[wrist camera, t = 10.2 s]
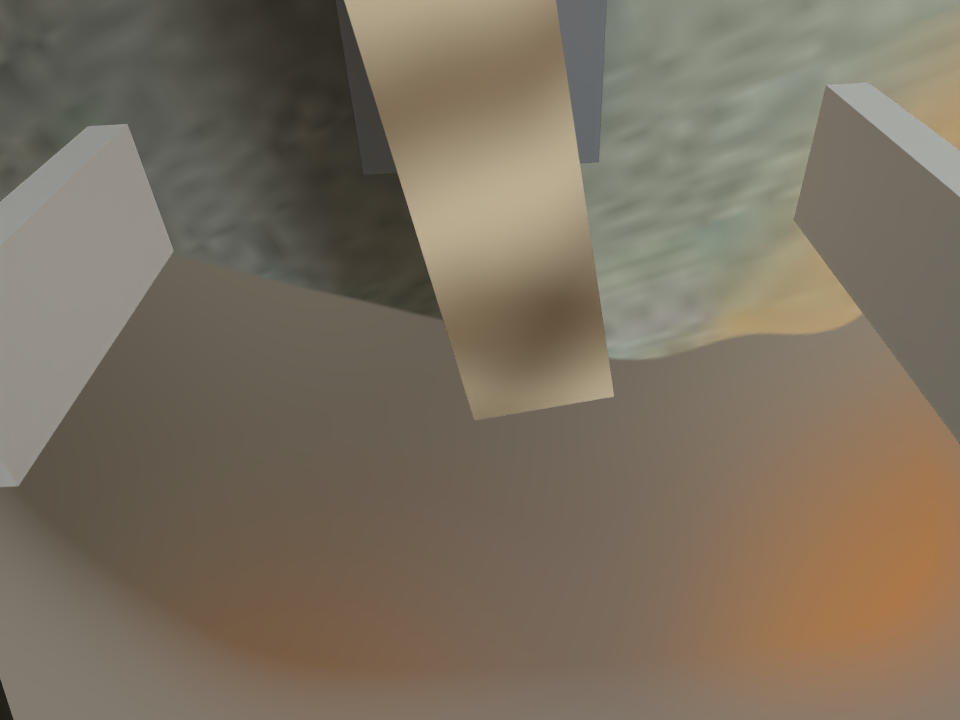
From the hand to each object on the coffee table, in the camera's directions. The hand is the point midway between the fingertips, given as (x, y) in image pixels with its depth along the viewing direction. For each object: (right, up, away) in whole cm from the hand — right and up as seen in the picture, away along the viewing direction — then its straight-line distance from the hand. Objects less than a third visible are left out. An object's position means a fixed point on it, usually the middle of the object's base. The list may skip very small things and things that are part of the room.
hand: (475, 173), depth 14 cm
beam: (0, +6, +9) cm, 11 cm away
